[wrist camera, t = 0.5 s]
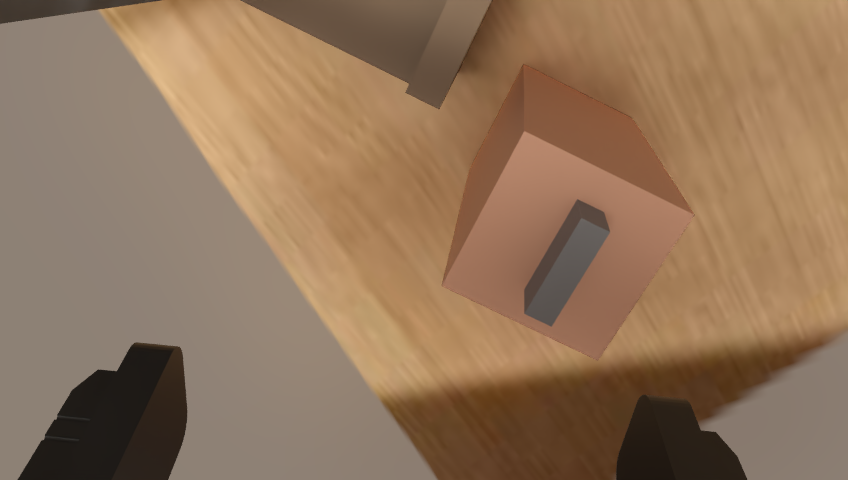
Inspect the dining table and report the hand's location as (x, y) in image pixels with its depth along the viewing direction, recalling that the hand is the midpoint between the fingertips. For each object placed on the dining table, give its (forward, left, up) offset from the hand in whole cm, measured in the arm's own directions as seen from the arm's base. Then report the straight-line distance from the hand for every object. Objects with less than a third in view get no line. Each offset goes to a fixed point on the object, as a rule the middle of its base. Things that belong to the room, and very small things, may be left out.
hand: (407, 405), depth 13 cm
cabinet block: (-2, +2, -20) cm, 20 cm away
